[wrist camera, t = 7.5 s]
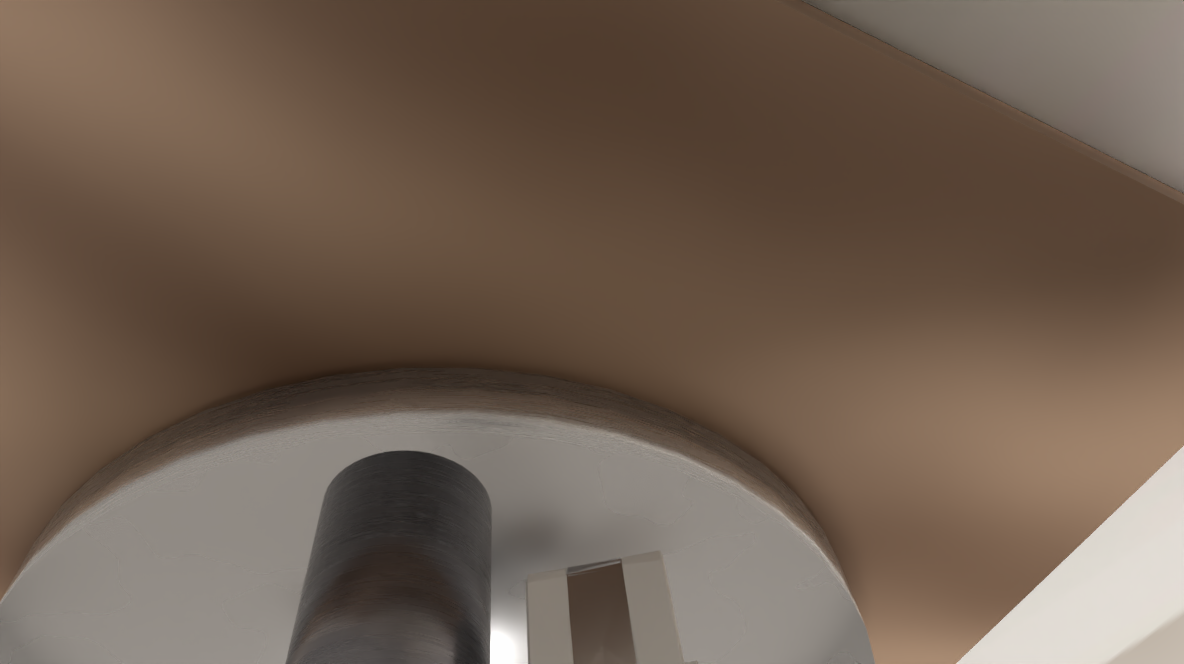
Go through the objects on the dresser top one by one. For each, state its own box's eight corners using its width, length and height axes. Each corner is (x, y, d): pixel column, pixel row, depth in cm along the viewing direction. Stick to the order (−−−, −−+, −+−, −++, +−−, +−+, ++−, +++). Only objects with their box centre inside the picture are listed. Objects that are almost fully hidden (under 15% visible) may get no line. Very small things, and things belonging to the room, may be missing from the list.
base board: (-90, -450, 9) (-197, -484, 8) (1280, 243, 15) (1358, 293, 14) (-147, 868, 22) (-191, 943, 21) (598, 946, 29) (602, 1009, 27)
